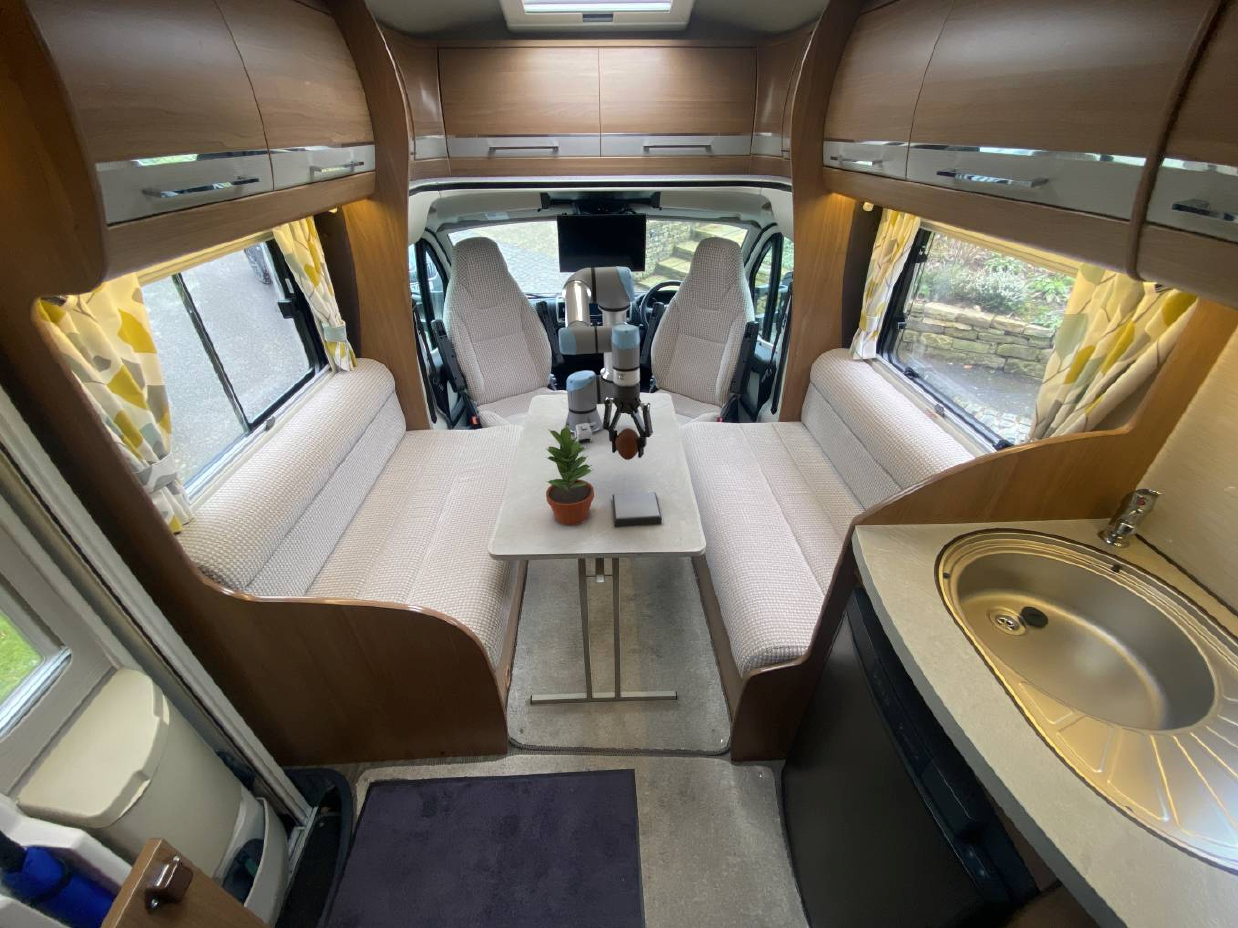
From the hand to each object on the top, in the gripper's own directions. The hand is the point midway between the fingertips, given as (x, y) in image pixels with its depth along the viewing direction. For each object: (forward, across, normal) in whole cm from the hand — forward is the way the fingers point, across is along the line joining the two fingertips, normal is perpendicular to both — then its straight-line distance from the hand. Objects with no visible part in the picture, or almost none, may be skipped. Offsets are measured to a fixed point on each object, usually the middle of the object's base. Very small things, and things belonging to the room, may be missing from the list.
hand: (627, 453), depth 151 cm
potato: (0, 0, 0) cm, 0 cm away
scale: (+18, +4, -4) cm, 19 cm away
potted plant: (+18, -13, -13) cm, 26 cm away
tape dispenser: (+18, -33, +32) cm, 49 cm away
